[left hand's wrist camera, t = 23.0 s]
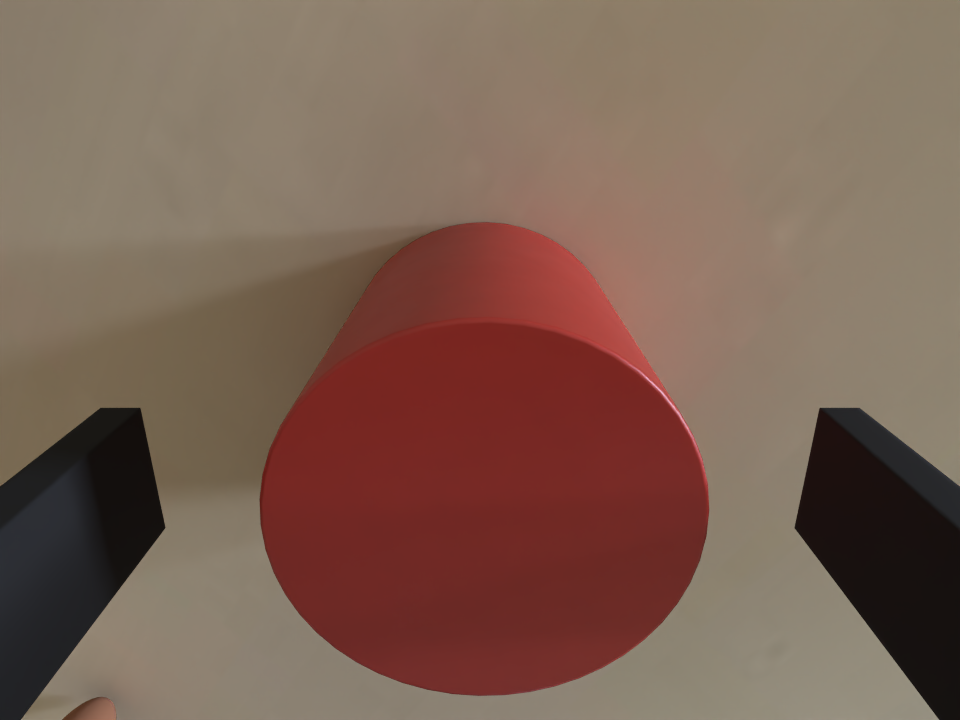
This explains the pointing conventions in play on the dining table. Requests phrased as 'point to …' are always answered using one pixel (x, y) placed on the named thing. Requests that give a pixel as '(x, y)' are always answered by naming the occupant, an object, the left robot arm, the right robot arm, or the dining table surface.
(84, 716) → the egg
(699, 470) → the canister
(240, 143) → the dining table surface
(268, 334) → the dining table surface
